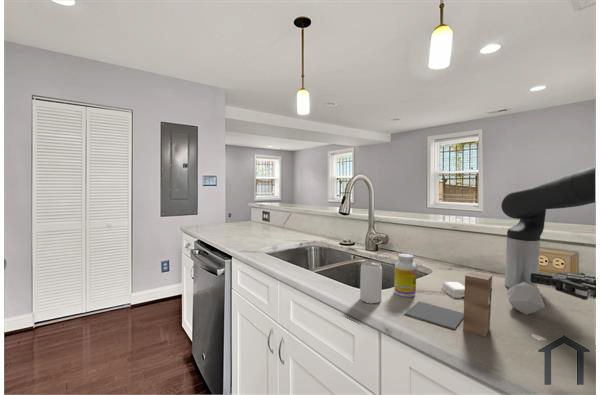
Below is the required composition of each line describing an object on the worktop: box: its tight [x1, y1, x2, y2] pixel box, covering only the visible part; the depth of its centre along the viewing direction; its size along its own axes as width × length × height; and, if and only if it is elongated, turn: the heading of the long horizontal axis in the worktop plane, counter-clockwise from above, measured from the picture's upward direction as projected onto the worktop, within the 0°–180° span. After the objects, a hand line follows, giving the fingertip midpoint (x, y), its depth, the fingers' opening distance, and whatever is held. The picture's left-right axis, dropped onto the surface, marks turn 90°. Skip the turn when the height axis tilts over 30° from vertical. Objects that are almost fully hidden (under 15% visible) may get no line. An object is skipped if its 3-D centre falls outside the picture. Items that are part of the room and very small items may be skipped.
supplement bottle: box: [393, 253, 417, 298], centre depth 101 cm, size 7×7×13 cm
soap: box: [440, 281, 465, 299], centre depth 102 cm, size 9×7×3 cm
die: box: [506, 282, 546, 316], centre depth 88 cm, size 8×9×10 cm
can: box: [359, 259, 383, 304], centre depth 96 cm, size 6×6×12 cm
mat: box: [403, 300, 464, 331], centre depth 86 cm, size 11×13×1 cm
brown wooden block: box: [462, 270, 493, 337], centre depth 77 cm, size 5×5×14 cm
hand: (530, 276), depth 70 cm, fingers closed
